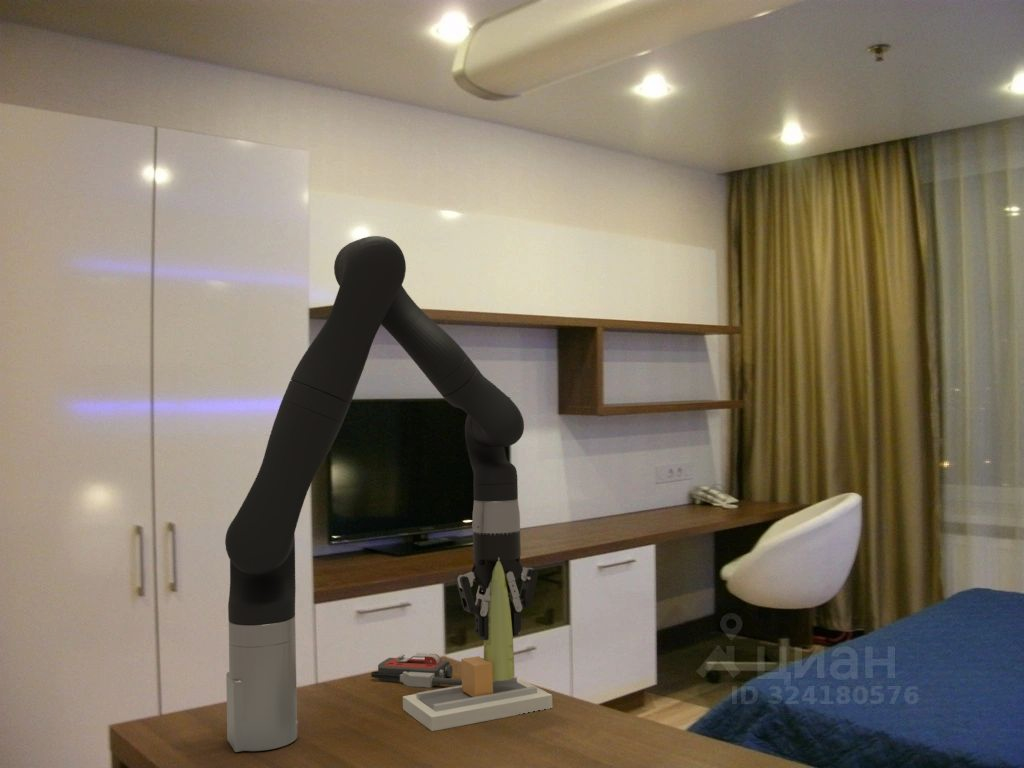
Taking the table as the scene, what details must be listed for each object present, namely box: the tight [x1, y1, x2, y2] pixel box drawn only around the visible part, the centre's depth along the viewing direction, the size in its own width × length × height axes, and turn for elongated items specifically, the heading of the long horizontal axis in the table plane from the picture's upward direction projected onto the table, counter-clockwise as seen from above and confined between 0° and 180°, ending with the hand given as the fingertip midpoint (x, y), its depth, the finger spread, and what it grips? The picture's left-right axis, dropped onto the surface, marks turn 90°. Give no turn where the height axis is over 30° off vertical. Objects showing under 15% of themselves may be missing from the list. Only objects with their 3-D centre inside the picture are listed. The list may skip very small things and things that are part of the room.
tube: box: [483, 558, 515, 681], centre depth 145 cm, size 6×5×20 cm
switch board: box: [402, 676, 553, 732], centre depth 143 cm, size 20×12×3 cm, turn 117°
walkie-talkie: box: [370, 652, 462, 689], centre depth 159 cm, size 9×4×20 cm
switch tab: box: [460, 655, 493, 697], centre depth 143 cm, size 3×5×5 cm, turn 27°
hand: (498, 636), depth 145 cm, fingers closed on tube, 4 cm apart
